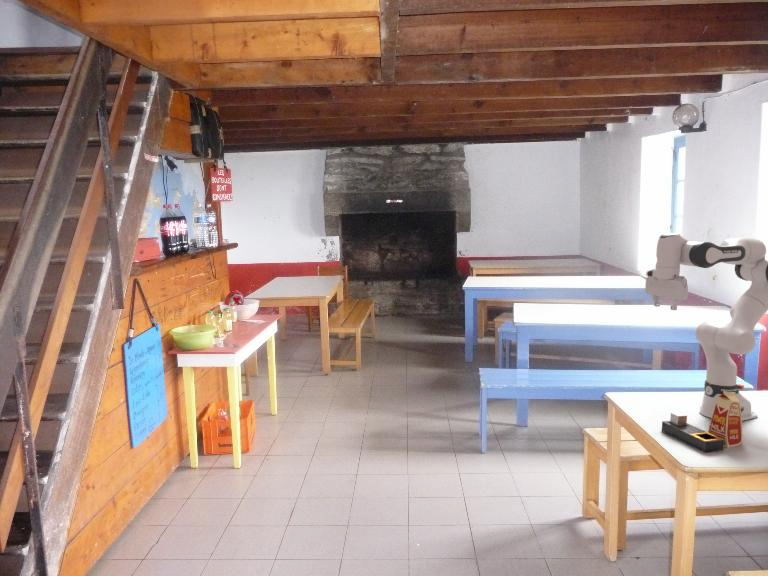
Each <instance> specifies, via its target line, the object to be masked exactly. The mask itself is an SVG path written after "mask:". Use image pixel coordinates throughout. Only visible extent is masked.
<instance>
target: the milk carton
mask: <svg viewBox="0 0 768 576" xmlns="http://www.w3.org/2000/svg"><path fill="white" fill-rule="evenodd" d="M735 393H736V392H726V391H723V394H722V395H720V396H718V399H717V402H716V406H715V409H714V412H713V416H712V418H710V419H711V420H710V422H709V427H708V430H707V432H709V433H711V434H713V435H715V436H718V437H720V438H722V439H723V440H724V448H727V449H728V448H729V449H730V448H734V447H737V446H741V445H743V421H742V416H741V407H740V401H739V400H738V399H737V397H736V396H735Z"/></svg>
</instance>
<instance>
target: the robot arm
mask: <svg viewBox="0 0 768 576" xmlns="http://www.w3.org/2000/svg"><path fill="white" fill-rule="evenodd" d="M766 254H767V248H766V245H765V243H764V242H763V241H761V240H760V239H756V238H750V237H733V238H728V239H725V240H723V241H722V242H721V243H720V244H719V245H717V244H715V243H713V242H711V241H689V240H688V239H686V238H684V237H683V236H682V235H681V233H679V232H667V233H663V234H661V235H660V236H659V237H658V240H657V244H656V253H655V255H656V263H655V268H653V269H651V270H647V271H646V273H645V276H646V278H645V285H644V286H645V293H646V295H652V296H651V297H652V300H653V306H654V307H657V308H659V307H660V306H661V301H659V300H660V299H659V297H662V298H667V299H672V305H670V308H669V309H670V310H671V311H677V310H678V306H679V304H680V302H681V301H686V300H687V299H688V298H689V286H688V280H687V278H686V276H683V275H680V274H681V273H680V272H681V266H688V267H689V266H691V267H698V268H702V269H708V268H709V269H710V268H712V267H713V266H715V265H717V264H719V263H724V264H727V265H734V272H735V275H736V277H737V278H739V279H741V280H743V281H747V282H748V281H749V282H751V284H750V286H749V288H748V289H747V290H746V291H745V292H744V293H743V294H742V295H741V296H740V297H739V298H738V299H737V301H736V302H735V303H734V304H733V305H732V306H731V308H730V309H729V314H730V317H731V321H730V322H729V323H728V324H725V323H721V322H715V321H706V322H705V321H704V322H701V323H700V324H699V325H698V326H697V327H696V330H695V338H696V340H697V342H698V343H699V344H700V346H701V347H702V349H703V352H704V355H705V359H706V361H705V362H706V377H705V378H706V379H705V380H704V387H703V389H704V392H703V396H702V397H703V398H702V402H701V405H700V407H699V413H700V414H701V415H702V416H704V417H707V418H710V419H712V416H713V412H714V409H715V406H716V402H717V399H718V396H720V395H722V394H723V391H726V392H736V393H735V396H736V397H737V399H738V400H739V401H740V407H741V416H742V422H743V421H746V420H752V419H756V418H758V414H757V413H756V412H754V411H752V404H751V401H749V400H748V399H747V398H746V397H745V396H743V394H742V393H740V391H739V390H741V391H743V390H744V389H745V386H744V385H743V384H737V377H738V366H737V364H736V363H735V361H734V360H733V358H732V357H731V354H734V355H748V354H750V353H751V352H752V351H753V350H754V349H755V348H756V347H755V346H756V343H757V341H756V337H755V335H754V331H755V327H756V325H757V324H758V323H759V321H760V320H761V319H762V317H763V316H764V315H765V314H766V313H767V311H768V256H766Z"/></svg>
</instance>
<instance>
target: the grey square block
mask: <svg viewBox="0 0 768 576" xmlns="http://www.w3.org/2000/svg"><path fill="white" fill-rule="evenodd" d="M687 419H688V415H687V414H685V413H683V412H679V411H677V412H670V419H669V421H670V424H672V425H674V426H676V427H683V426H686V424H687V421H688V420H687Z"/></svg>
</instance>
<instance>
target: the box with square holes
mask: <svg viewBox="0 0 768 576" xmlns="http://www.w3.org/2000/svg"><path fill="white" fill-rule="evenodd" d="M661 432H662V433H664V434H666V435H668V436H670V437H673V438H674V439H676V440H678V441H680V442H682V443H685V444H686V445H688V446H690V447H692V448H695V449H696V450H698V451H700V452H702V451H703V452H702V453H704V452H705V453H704V454H709V453H714V452H723V451H724V448H725V447H724V440H723V439H722V438H720V437H718V436H715V435H713V434H711V433H709V432H708V431H705V430H704V429H701V428H699V427H697V426H693V425H692V424H689V423H687V424H686V426H683V427H676V426H674V425H672V424H670V420H665V421H664V420H662V421H661Z"/></svg>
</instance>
